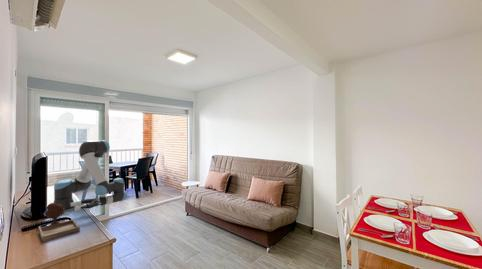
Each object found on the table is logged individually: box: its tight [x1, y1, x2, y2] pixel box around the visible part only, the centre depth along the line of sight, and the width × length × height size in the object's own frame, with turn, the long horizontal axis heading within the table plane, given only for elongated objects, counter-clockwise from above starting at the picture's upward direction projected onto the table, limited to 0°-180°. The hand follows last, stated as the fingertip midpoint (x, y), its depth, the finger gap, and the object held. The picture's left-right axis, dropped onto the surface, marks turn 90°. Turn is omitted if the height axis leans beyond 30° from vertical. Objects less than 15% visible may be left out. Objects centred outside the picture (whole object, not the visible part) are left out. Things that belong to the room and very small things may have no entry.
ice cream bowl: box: [44, 202, 66, 225], centre depth 147 cm, size 11×11×15 cm
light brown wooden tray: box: [38, 219, 81, 243], centre depth 135 cm, size 18×18×3 cm
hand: (72, 206), depth 154 cm, fingers open, 13 cm apart
